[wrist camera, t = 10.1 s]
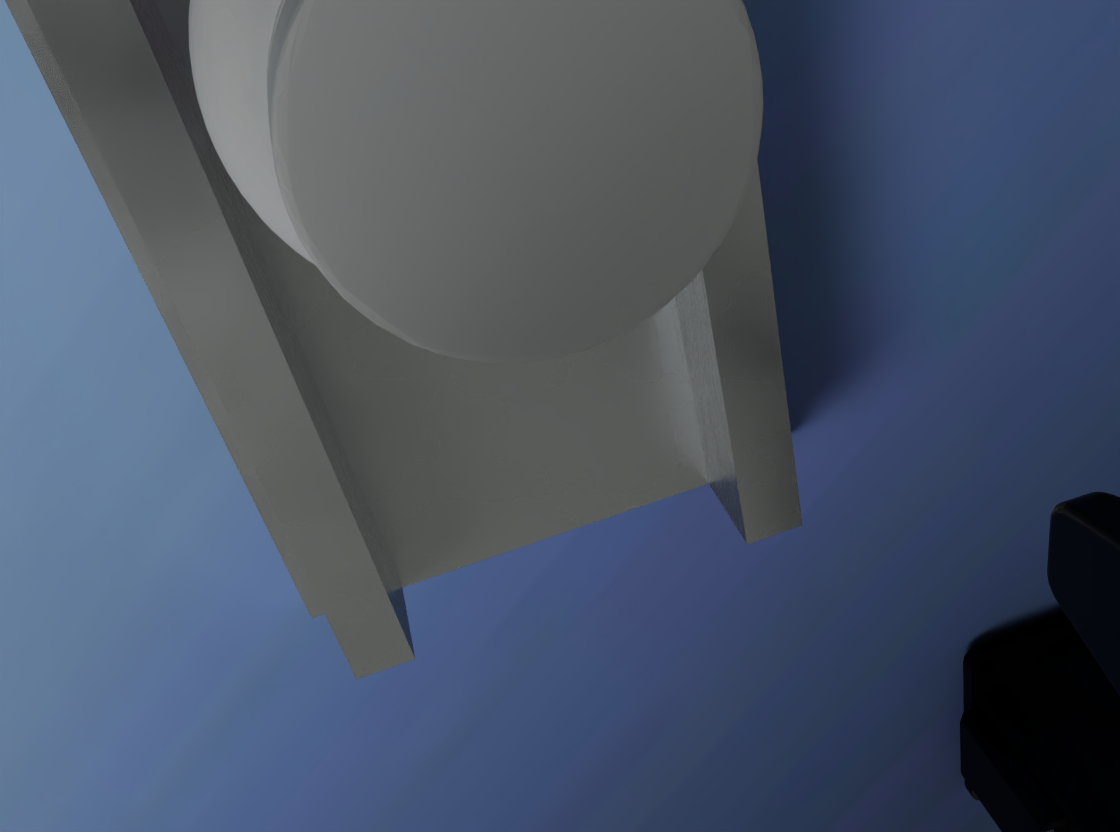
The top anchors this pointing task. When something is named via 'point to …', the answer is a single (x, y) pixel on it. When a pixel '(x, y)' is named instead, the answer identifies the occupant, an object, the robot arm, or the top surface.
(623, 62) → the pill bottle
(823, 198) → the top surface
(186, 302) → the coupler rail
